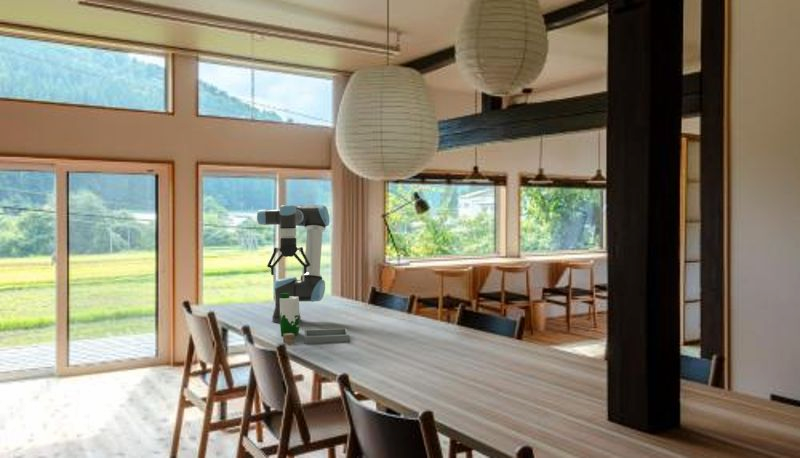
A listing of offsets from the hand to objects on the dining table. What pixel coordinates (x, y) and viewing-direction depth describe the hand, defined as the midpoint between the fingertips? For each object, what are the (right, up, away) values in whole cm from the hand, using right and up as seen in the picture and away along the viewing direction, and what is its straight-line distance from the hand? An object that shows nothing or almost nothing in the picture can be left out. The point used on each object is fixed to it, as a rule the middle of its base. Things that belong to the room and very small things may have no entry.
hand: (289, 281), depth 294 cm
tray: (+19, -26, -10) cm, 34 cm away
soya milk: (0, -26, +1) cm, 26 cm away
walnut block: (+3, -26, -17) cm, 31 cm away
